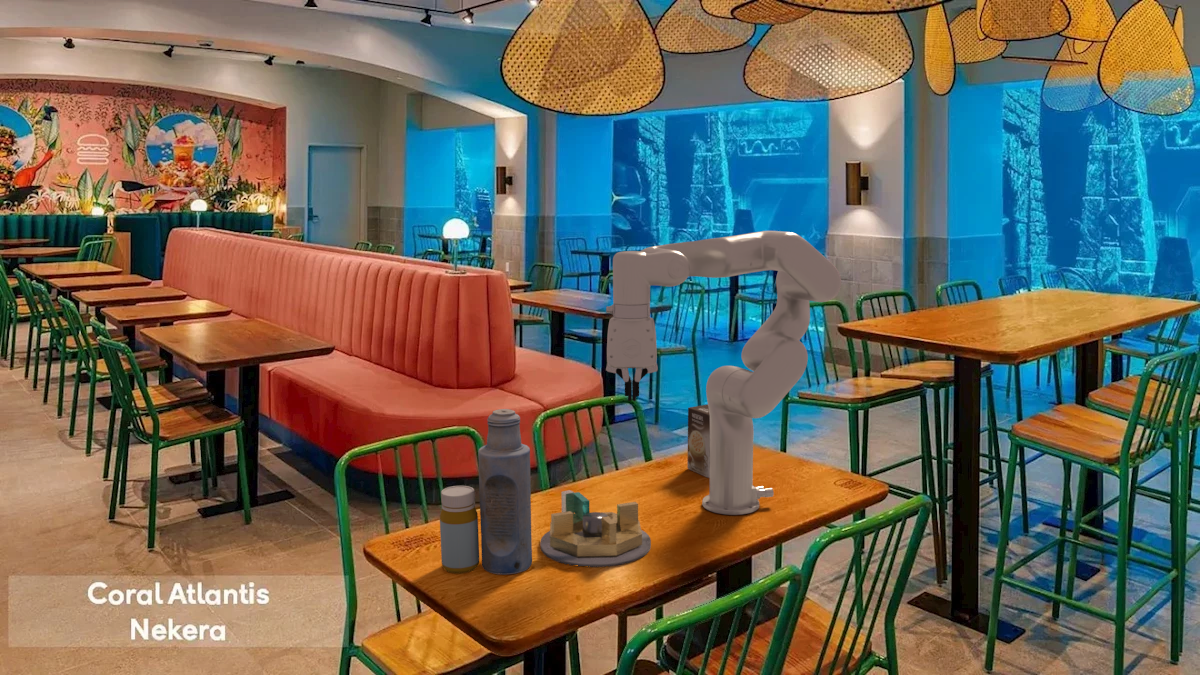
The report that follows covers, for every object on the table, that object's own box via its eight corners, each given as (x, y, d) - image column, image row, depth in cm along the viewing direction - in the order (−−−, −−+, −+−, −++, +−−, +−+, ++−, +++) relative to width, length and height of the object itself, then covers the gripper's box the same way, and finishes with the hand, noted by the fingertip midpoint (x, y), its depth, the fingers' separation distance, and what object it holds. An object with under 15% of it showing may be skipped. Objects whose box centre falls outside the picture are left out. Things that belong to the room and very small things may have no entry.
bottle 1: (487, 565, 179) (484, 489, 176) (460, 577, 174) (457, 499, 171) (461, 556, 183) (458, 482, 181) (434, 568, 178) (430, 492, 175)
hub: (635, 521, 202) (635, 485, 201) (663, 561, 180) (663, 521, 179) (533, 529, 198) (532, 492, 196) (549, 571, 176) (548, 530, 174)
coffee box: (686, 468, 239) (686, 407, 236) (706, 465, 242) (707, 403, 240) (707, 478, 231) (708, 414, 229) (728, 474, 234) (729, 411, 232)
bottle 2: (475, 574, 175) (470, 416, 170) (489, 554, 185) (485, 404, 180) (525, 577, 174) (521, 418, 169) (537, 556, 183) (534, 405, 178)
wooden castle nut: (551, 521, 199) (550, 492, 198) (636, 519, 199) (636, 490, 198) (549, 557, 179) (549, 525, 178) (644, 554, 180) (644, 523, 179)
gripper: (594, 314, 190) (595, 403, 193) (668, 314, 189) (668, 403, 192) (596, 309, 197) (597, 395, 200) (667, 309, 196) (667, 395, 199)
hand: (632, 399), depth 196 cm, fingers closed
